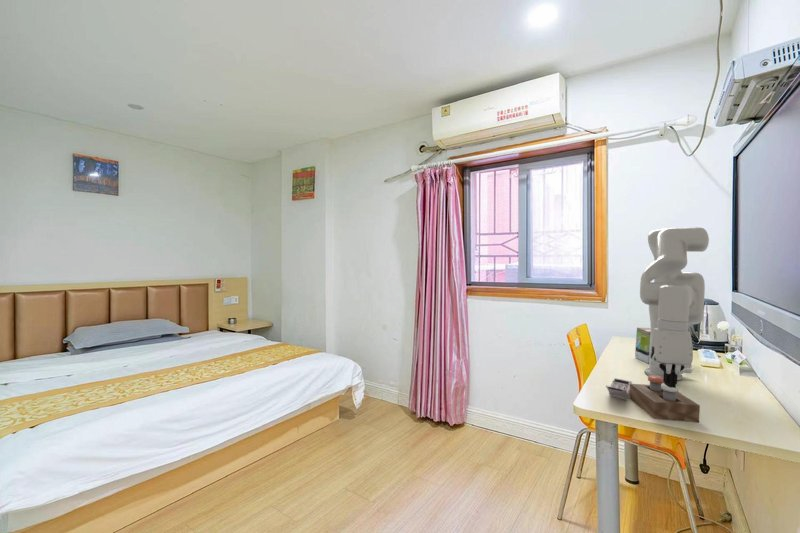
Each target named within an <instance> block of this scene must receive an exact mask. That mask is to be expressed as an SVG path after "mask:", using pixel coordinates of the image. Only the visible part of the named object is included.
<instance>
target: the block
mask: <svg viewBox="0 0 800 533" xmlns="http://www.w3.org/2000/svg"><path fill="white" fill-rule="evenodd" d="M629 399H630V400H631V401H633V402H634V403H635V404H636V405H637V406H638V407H640V408H641V409H642V410H643V412H645V413H647V415H650V417H651V418H653V419H654V420H666V421H680V422H688V423H689V422H693V423H700V409H701V408H700V407H701V405H700V404H698V403H697V402H695V401H693V400H692V399H690V398H689V397H688V396H686V395H684V394H682V393H681V392H676V401H665V400H664V399H663V389H662V392H658V391H651V390H650V384H641V383H632V384H630V393H629Z"/></svg>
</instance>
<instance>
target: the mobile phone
mask: <svg viewBox="0 0 800 533" xmlns="http://www.w3.org/2000/svg"><path fill="white" fill-rule="evenodd" d="M630 384H633V382H632V381H631V380H626V379H622V378H617V377H615V378H614V379H613V380H612V382H611V384H610V386H609V385H605V387H606V389H607V391H608V396H610V397H613V398H618V399H622V400H628V397H629V396H630Z"/></svg>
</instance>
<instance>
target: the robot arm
mask: <svg viewBox="0 0 800 533" xmlns="http://www.w3.org/2000/svg"><path fill="white" fill-rule="evenodd" d="M647 242H648V247H649V249H650V251H651V254H652V256H653V258H654V261H653V262H651V263H650V264H649V265H648V266H647V267H646V268H645V269H644V270H643V272H642V274H641V277H640V284H639V285H640V286H639V297H640V300H641V302H642V303H644V305H648V313H649V314H648V315H649V322H650V328H651V332H650V351H649V356H650V358H649V363H648V364H649V367H647V368H645V369H644V374H645V375H647V376H649V375H654V376H660V377H663V381H664V384H665V385H667V386H668V387H674V388H676V386H677V384H678V381H680V380H683V378H684V377H683V375H682V374H684V373H685V374H693V371H692V367H693V366H692V363H693V359H694V346H693V338H692V335H691V332H690V331H689V329H690V328H693V325H698V324H701V323H702V322H703V320H704V313H705V312H704V311H705V289H706V288H705V286H706V285H705V279H704V276H703V275H702V274H701V273H699V272H694V271H682V270H684V269H685V268H686V267H687V264H688V253H690V252H695V253H696V252H699V253H700V252H705V251H706V250H707V249H708V247H709V242H710V238H709V234H708V231H707V229H705V227H697V226H696V227H695V226H694V227H669V228H661V229H655V230H651V231H650V232H649V233H648V234H647Z"/></svg>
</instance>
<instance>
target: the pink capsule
mask: <svg viewBox="0 0 800 533" xmlns="http://www.w3.org/2000/svg"><path fill="white" fill-rule="evenodd" d="M647 381H649V385H650V390H651V391H658V392H662V389H661V384H662V383H664V381H663V377H660V376H654V375H647Z"/></svg>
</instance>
